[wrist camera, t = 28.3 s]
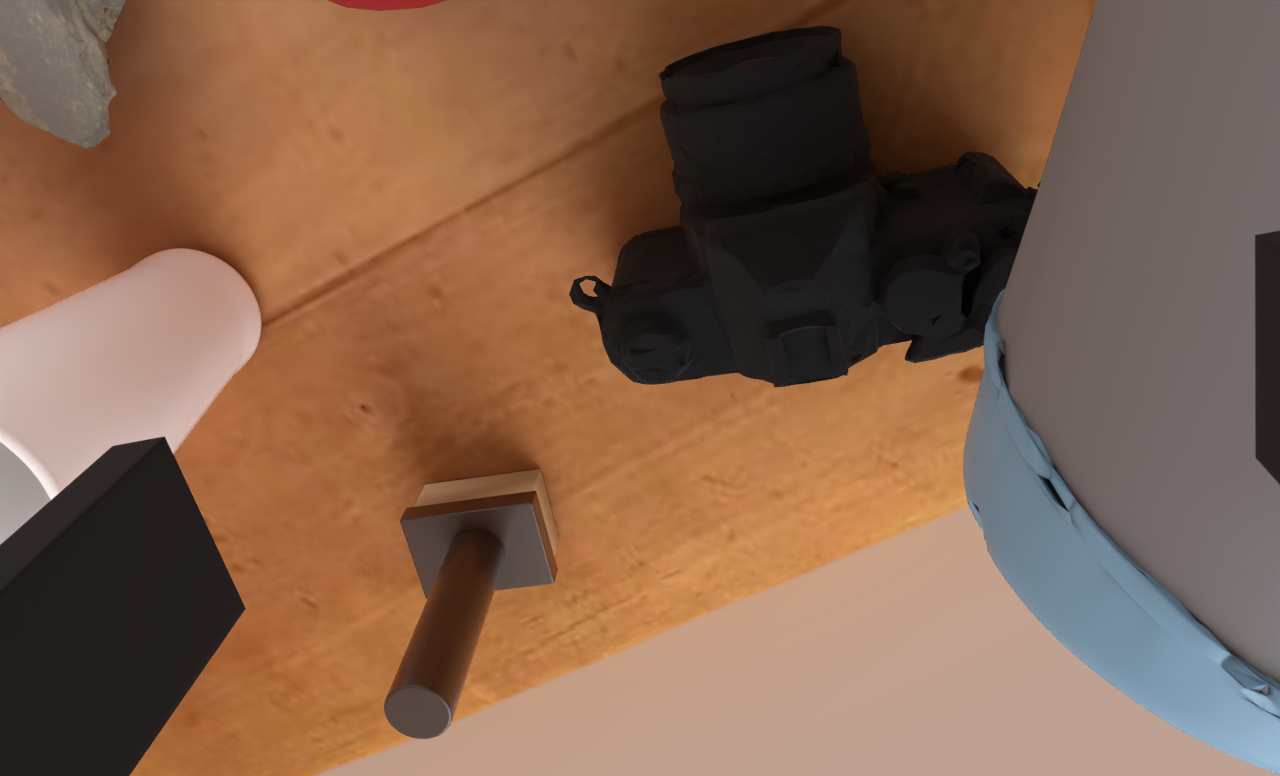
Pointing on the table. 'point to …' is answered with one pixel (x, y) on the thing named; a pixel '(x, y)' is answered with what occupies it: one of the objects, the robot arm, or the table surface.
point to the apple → (385, 4)
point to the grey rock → (58, 65)
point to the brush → (465, 583)
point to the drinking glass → (116, 370)
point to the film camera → (800, 230)
